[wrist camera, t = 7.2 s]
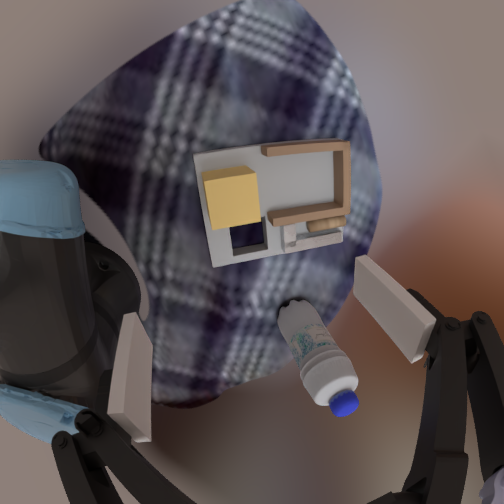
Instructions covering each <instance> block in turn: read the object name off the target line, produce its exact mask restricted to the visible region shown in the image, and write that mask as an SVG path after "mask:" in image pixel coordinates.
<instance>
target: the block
mask: <svg viewBox="0 0 504 504" xmlns="http://www.w3.org/2000/svg"><path fill="white" fill-rule="evenodd" d="M201 174H202V180H203V186H204V192H205V198H206V204H207V210H208V216H209V220H210V224H211V228H212V230H217V229H222V228H228V227H233V226H238V225H244V224H249V223H255V222H260V221H261V214H260V204H259V194H258V185H257V175H256V172H254V171H253V170H252V169H250V168H249V167H248V166H246V165H243V166H237V167H230V168H224V169H218V170H212V171H206V172H201Z"/></svg>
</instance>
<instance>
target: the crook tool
mask: <svg viewBox="0 0 504 504" xmlns="http://www.w3.org/2000/svg"><path fill="white" fill-rule="evenodd" d="M280 232H281V248H282V250H283V251H284V253H285V254H287V253H291V252H296V251H301V250H306V249H311V248H316V247H321V246H325V245H330V244H335V243H340V242H342V231H341V230H339V229H338V228H332V229H326V230H321V231H316V232H310V233H305V234H300V235H296V224H295V223H294V224H289V225H283V226H280Z"/></svg>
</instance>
